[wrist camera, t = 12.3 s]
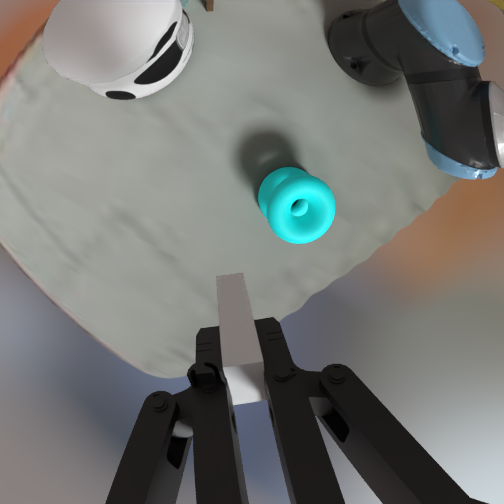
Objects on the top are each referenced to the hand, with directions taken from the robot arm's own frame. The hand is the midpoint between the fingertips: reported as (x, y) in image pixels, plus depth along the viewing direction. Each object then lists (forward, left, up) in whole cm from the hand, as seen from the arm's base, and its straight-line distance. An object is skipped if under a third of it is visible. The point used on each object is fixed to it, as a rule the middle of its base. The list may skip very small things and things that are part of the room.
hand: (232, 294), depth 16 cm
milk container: (+10, -24, -31) cm, 40 cm away
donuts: (-11, +3, -31) cm, 33 cm away
